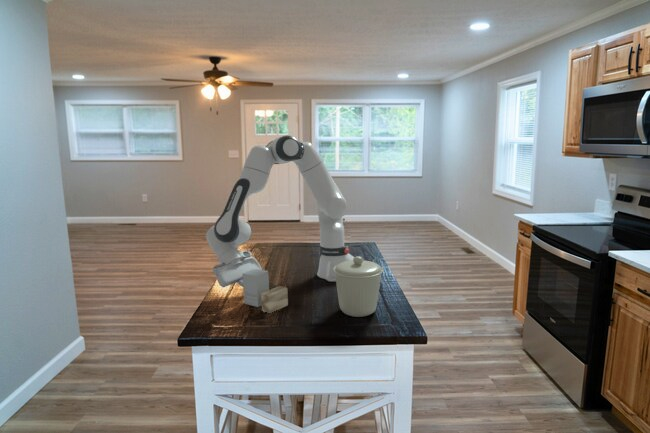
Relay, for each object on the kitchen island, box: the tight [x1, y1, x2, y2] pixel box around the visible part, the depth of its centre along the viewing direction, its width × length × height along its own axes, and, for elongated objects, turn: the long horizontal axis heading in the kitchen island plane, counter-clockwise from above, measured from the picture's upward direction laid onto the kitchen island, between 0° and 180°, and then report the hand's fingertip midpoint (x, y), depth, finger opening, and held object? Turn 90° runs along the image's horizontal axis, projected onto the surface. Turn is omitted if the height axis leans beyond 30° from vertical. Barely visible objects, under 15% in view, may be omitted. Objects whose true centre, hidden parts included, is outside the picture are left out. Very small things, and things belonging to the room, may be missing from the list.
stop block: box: [261, 285, 289, 314], centre depth 161 cm, size 4×10×7 cm, turn 143°
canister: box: [333, 255, 384, 318], centre depth 156 cm, size 18×18×21 cm
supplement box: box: [242, 268, 270, 308], centre depth 166 cm, size 7×7×13 cm
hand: (249, 288), depth 169 cm, fingers closed
